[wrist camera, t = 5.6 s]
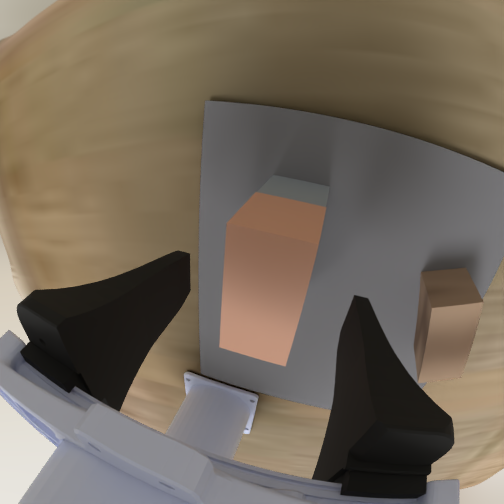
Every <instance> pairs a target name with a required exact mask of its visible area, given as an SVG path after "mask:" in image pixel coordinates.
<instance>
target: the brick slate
mask: <svg viewBox="0 0 504 504" xmlns="http://www.w3.org/2000/svg"><path fill="white" fill-rule="evenodd" d="M329 188H330V187H329V186H325V185H320V184H316V183H311V182H306V181H302V180H297V179H292V178H287V177H282V176H277V175H273V176H272V177H271V178H270V179H269V180H268V181H267V182H266V183H265V184H264V185H263V186H262V187H261V188H260V189H259V190H258V191H257V192H259V193H264V194H269V195H273V196H278V197H283V198H288V199H292V200H297V201H301V202H306V203H310V204H314V205H319V206H323V207H326V204H327V199H328V194H329Z"/></svg>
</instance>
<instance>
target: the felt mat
mask: <svg viewBox="0 0 504 504" xmlns="http://www.w3.org/2000/svg"><path fill="white" fill-rule="evenodd" d="M273 175H277V176H282V177H287V178H292V179H297V180H302V181H306V182H311V183H316V184H320V185H325V186H329V187H330V188H329V194H328V199H327V204H326V212H325V217H324V222H323V227H322V232H321V237H320V241H319V246H318V250H317V254H316V258H315V262H314V266H313V270H312V274H311V278H310V282H309V286H308V289H307V293H306V297H305V301H304V304H303V308H302V312H301V315H300V319H299V322H298V326H297V329H296V333H295V336H294V340H293V343H292V346H291V350H290V353H289V356H288V360H287V363H286V366H282V365H278V364H274V363H271V362H267V361H263V360H260V359H256V358H253V357H250V356H246V355H243V354H240V353H236V352H233V351H230V350H227V349H224V348H220V347H219V344H220V324H221V305H222V287H223V271H224V255H225V240H226V226H227V222H228V221H229V220H230V219H231V218H232V217H233V216H234V215H235V214H236V212H237V211H238V210H239V209H240V208H241V207H242V206H243V205H244V204H245V203H246V202H247V201H248V200H249V199H250V198H251V196H252V195H253V194H254V193H255V192H257V191H258V190H259V189H260V188H261V187H262V186H263V185H264V184H265V183H266V182H267V181H268V180H269V179H270V178H271V177H272V176H273ZM503 257H504V172H502V171H500V170H498V169H496V168H494V167H491V166H489V165H487V164H484V163H482V162H480V161H477V160H475V159H472V158H470V157H468V156H465V155H462V154H460V153H457V152H455V151H452V150H449V149H446V148H444V147H441V146H438V145H435V144H432V143H429V142H426V141H423V140H420V139H417V138H414V137H411V136H407V135H404V134H401V133H397V132H394V131H390V130H387V129H383V128H379V127H375V126H371V125H367V124H363V123H359V122H355V121H350V120H346V119H341V118H337V117H332V116H327V115H322V114H316V113H311V112H305V111H299V110H293V109H286V108H279V107H272V106H264V105H255V104H246V103H235V102H223V101H205V110H204V124H203V140H202V158H201V180H200V210H199V337H200V366H201V374H203V375H206V376H209V377H212V378H214V379H217V380H220V381H223V382H227V383H230V384H233V385H236V386H239V387H242V388H246V389H249V390H252V391H256V392H259V393H263V394H267V395H270V396H274V397H278V398H281V399H285V400H289V401H293V402H298V403H302V404H306V405H310V406H315V407H320V408H324V409H329V410H331V408H332V404H333V396H334V386H335V372H336V357H337V348H338V342H339V336H340V331H341V328H342V326H343V323H344V320H345V318H346V315H347V313H348V310H349V308H350V305H351V302H352V300H353V297H354V295H357V296H361V297H366V298H368V299H369V301H370V303H371V305H372V307H373V310H374V312H375V314H376V316H377V319H378V321H379V323H380V325H381V327H382V329H383V331H384V333H385V335H386V337H387V339H388V341H389V343H390V345H391V347H392V348H393V350H394V352H395V354H396V355H397V357H398V358H399V360H400V361H401V363H402V364H403V366H404V367H405V369H406V370H407V371H408V373H409V374H410V375H411V377H412V378H413V379H414V380H415V382H416V383H417V384H418V385H419V386H420V388H421V389H422V388H423V387H424V386H425V384H426V383H427V382H425V383H418V380H417V370H416V361H415V353H414V346H413V345H414V338H415V331H416V323H417V314H418V304H419V292H420V278H421V272H424V271H435V270H446V269H457V268H466V269H467V271H468V272H469V274H470V276H471V278H472V280H473V282H474V284H475V286H476V288H477V290H478V292H479V294H480V296H481V298H482V299H483V297H484V295H485V293H486V291H487V289H488V288H489V286H490V284H491V282H492V280H493V278H494V276H495V274H496V272H497V270H498V267H499V265H500V263H501V261H502V259H503Z"/></svg>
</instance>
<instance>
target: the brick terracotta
mask: <svg viewBox="0 0 504 504" xmlns="http://www.w3.org/2000/svg"><path fill="white" fill-rule="evenodd" d="M325 212H326V207H323V206H319V205H314V204H310V203H306V202H301V201H297V200H292V199H288V198H283V197H278V196H273V195H269V194H264V193H259V192H255V193H254V194H253V195H252V196H251V198H250V199H249V200H248V201H247V202H246V203H245V204H244V205H243V206H242V207H241V208H240V209H239V210H238V211H237V212H236V214H235V215H234V216H233V217H232V218H231V219H230V220H229V221H228V222H227V226H226V240H225V255H224V271H223V287H222V305H221V324H220V344H219V347H220V348H224V349H227V350H230V351H233V352H236V353H240V354H243V355H246V356H250V357H253V358H256V359H260V360H263V361H267V362H271V363H274V364H278V365H282V366H286V363H287V360H288V356H289V353H290V350H291V346H292V343H293V340H294V336H295V333H296V329H297V326H298V322H299V319H300V315H301V312H302V308H303V304H304V301H305V297H306V293H307V289H308V286H309V282H310V278H311V274H312V270H313V266H314V262H315V258H316V254H317V250H318V246H319V241H320V237H321V232H322V227H323V222H324V217H325Z"/></svg>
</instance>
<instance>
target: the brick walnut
mask: <svg viewBox="0 0 504 504" xmlns="http://www.w3.org/2000/svg"><path fill="white" fill-rule="evenodd" d="M482 307H483V300H482V298H481V296H480V294H479V292H478V290H477V288H476V286H475V284H474V282H473V280H472V278H471V276H470V274H469V272H468V271H467V269H466V268H457V269H446V270H435V271H424V272H421V278H420V292H419V304H418V314H417V323H416V331H415V338H414V345H413V346H414V353H415V361H416V370H417V380H418V383H425V382H434V381H442V380H450V379H457V378H461V376H462V374H463V371H464V368H465V365H466V362H467V359H468V356H469V353H470V350H471V347H472V344H473V340H474V337H475V334H476V330H477V326H478V323H479V319H480V315H481V311H482Z"/></svg>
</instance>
